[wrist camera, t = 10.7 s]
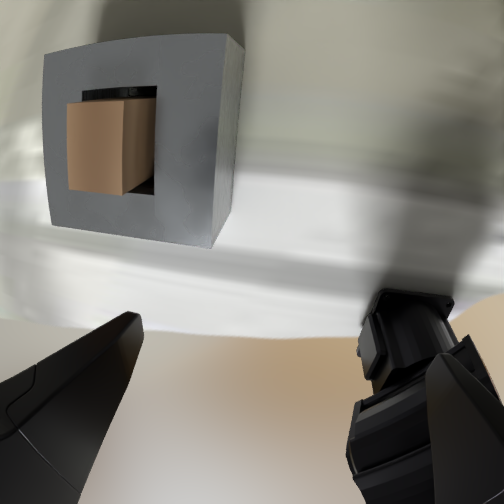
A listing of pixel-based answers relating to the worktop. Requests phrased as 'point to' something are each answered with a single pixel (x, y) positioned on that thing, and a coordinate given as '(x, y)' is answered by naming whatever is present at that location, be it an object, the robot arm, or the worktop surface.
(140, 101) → the tan rectangular block
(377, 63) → the worktop surface
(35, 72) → the worktop surface
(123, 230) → the grey square socket block
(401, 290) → the robot arm
